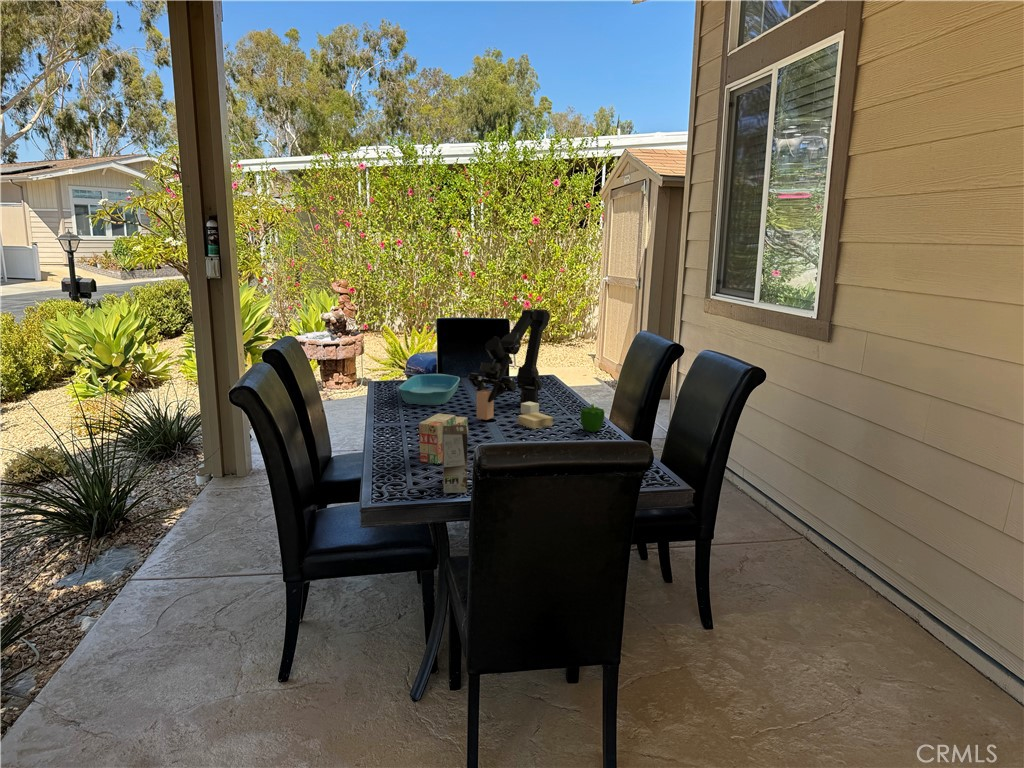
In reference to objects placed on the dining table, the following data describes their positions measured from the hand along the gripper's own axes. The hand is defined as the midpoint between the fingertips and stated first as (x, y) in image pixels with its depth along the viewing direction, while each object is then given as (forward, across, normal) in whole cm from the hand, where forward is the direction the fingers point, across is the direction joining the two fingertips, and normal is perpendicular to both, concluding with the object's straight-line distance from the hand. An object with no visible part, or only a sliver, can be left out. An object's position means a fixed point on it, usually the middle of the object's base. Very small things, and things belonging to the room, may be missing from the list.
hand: (483, 401), depth 239 cm
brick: (-9, +8, +20) cm, 24 cm away
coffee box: (+48, +31, -37) cm, 68 cm away
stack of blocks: (+32, +11, -21) cm, 40 cm away
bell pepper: (-3, +38, +14) cm, 41 cm away
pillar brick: (+4, 0, +6) cm, 7 cm away
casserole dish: (-8, -40, +20) cm, 46 cm away
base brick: (+1, +18, +11) cm, 21 cm away
